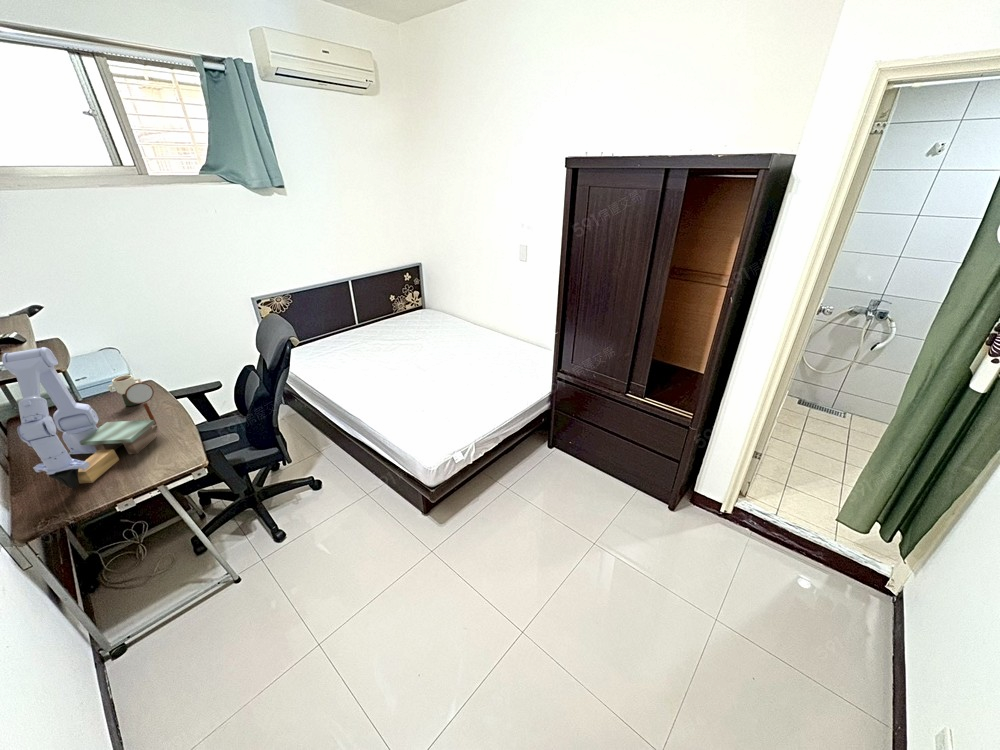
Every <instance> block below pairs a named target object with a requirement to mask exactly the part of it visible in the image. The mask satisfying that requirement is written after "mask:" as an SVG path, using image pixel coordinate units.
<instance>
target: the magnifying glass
mask: <svg viewBox="0 0 1000 750" xmlns="http://www.w3.org/2000/svg"><path fill="white" fill-rule="evenodd" d="M154 393H155V391H154V388H153V386H151V385H150V384H149V383H147V382H142V383H139V382H136V383H135V384H133V385H131V386H129V387H128V388H127V390H126V392H125V397H126V399H127V400H128V401H129V402H131V403H135V404H136V405H141V404H142V405H143V408H144V410H145V411H146V415H148V417H149V420H154V421H155V424H154V425H153V426H154V427H157V421H156V420H155V417H154V416H153V413H152V412H151V409H150V407H149V405H148V403H147V402H148V401H150V400H152V398H153V396H154Z"/></svg>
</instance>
